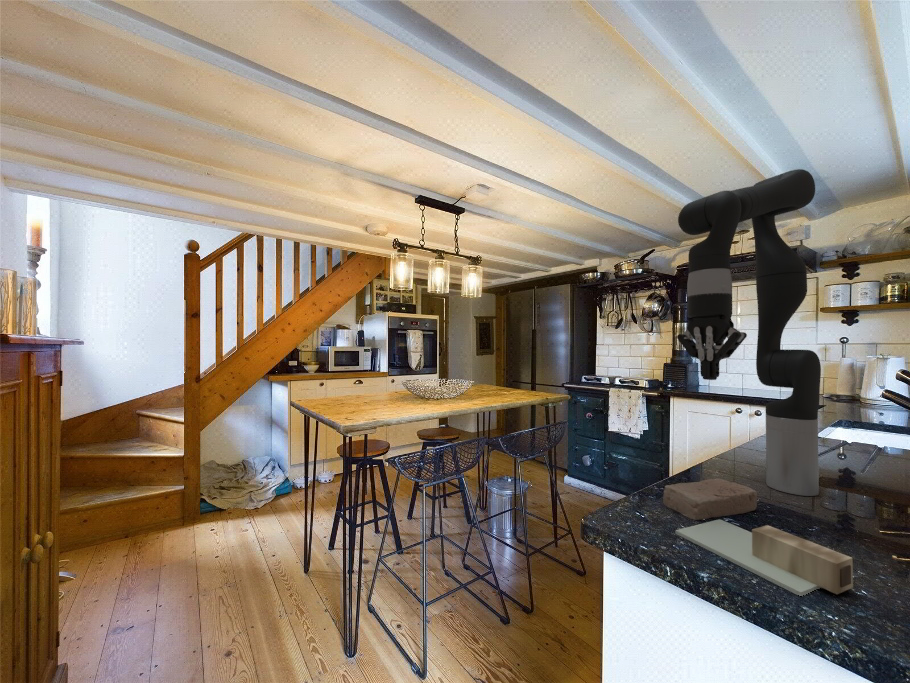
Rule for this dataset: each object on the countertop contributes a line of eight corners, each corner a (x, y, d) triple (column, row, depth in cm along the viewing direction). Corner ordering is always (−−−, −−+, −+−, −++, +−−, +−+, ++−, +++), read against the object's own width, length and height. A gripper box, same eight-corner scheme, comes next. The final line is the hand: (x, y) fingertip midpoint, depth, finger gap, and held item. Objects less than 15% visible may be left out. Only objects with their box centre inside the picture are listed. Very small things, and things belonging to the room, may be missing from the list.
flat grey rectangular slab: (719, 522, 70) (719, 519, 70) (848, 576, 53) (848, 572, 53) (675, 533, 66) (675, 530, 66) (801, 596, 49) (801, 592, 49)
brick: (695, 522, 71) (695, 498, 71) (660, 504, 79) (660, 482, 79) (759, 513, 75) (759, 490, 75) (720, 497, 83) (720, 476, 83)
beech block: (767, 525, 59) (853, 558, 50) (767, 550, 59) (854, 588, 50) (752, 529, 58) (838, 564, 49) (752, 554, 58) (838, 595, 48)
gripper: (757, 290, 70) (758, 381, 69) (690, 299, 82) (690, 376, 82) (732, 288, 67) (732, 383, 67) (666, 297, 79) (666, 377, 79)
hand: (709, 379), depth 74 cm, fingers closed
